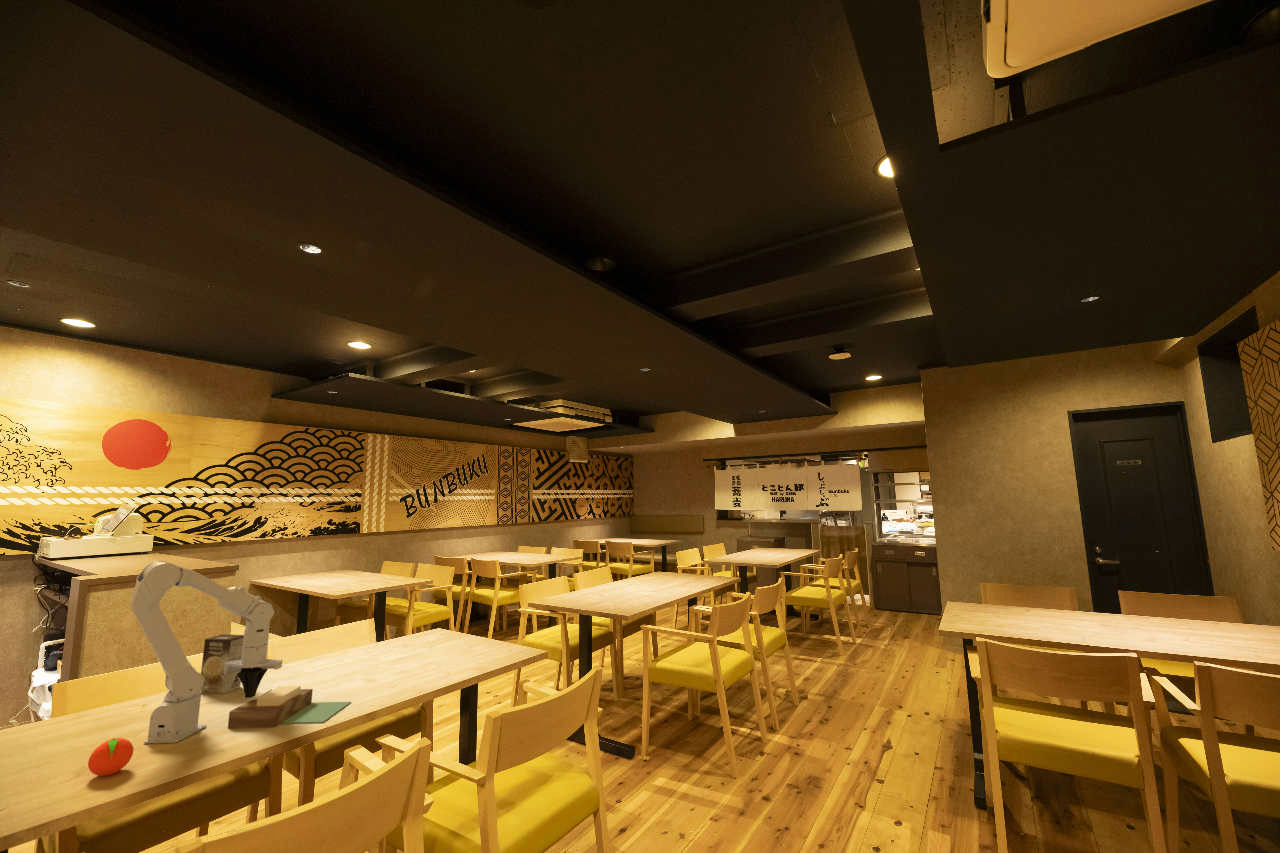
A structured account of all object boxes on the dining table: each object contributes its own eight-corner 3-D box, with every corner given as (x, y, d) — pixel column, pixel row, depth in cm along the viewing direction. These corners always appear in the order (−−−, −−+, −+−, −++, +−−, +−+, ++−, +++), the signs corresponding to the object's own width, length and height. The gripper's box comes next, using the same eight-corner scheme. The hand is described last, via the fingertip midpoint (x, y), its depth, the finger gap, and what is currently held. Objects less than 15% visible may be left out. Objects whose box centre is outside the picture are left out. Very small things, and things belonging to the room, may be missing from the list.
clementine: (131, 775, 111) (135, 740, 112) (84, 788, 106) (89, 750, 107) (131, 762, 116) (135, 728, 117) (86, 774, 111) (91, 738, 113)
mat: (323, 722, 137) (323, 721, 137) (280, 723, 136) (281, 722, 136) (350, 702, 151) (350, 701, 151) (312, 703, 150) (312, 702, 150)
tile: (279, 705, 138) (279, 697, 139) (256, 706, 138) (257, 698, 139) (300, 693, 147) (300, 686, 148) (278, 693, 147) (279, 686, 147)
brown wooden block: (274, 727, 134) (276, 710, 135) (227, 728, 134) (229, 711, 135) (311, 703, 150) (312, 688, 151) (269, 704, 150) (270, 689, 150)
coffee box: (196, 693, 159) (203, 638, 162) (215, 686, 166) (221, 633, 168) (224, 694, 158) (229, 639, 161) (241, 686, 165) (247, 634, 167)
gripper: (290, 640, 149) (286, 690, 147) (239, 641, 148) (234, 691, 146) (274, 647, 142) (269, 700, 140) (220, 648, 141) (214, 701, 139)
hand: (250, 696), depth 143 cm, fingers closed
